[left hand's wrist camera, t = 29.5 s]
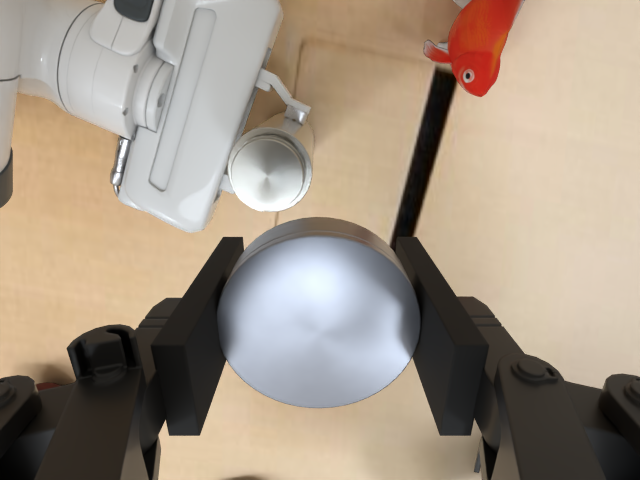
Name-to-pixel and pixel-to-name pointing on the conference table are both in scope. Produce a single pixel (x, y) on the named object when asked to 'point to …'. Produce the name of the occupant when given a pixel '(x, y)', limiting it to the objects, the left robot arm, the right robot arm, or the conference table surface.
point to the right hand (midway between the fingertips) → (292, 152)
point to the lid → (318, 314)
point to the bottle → (272, 164)
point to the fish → (476, 42)
